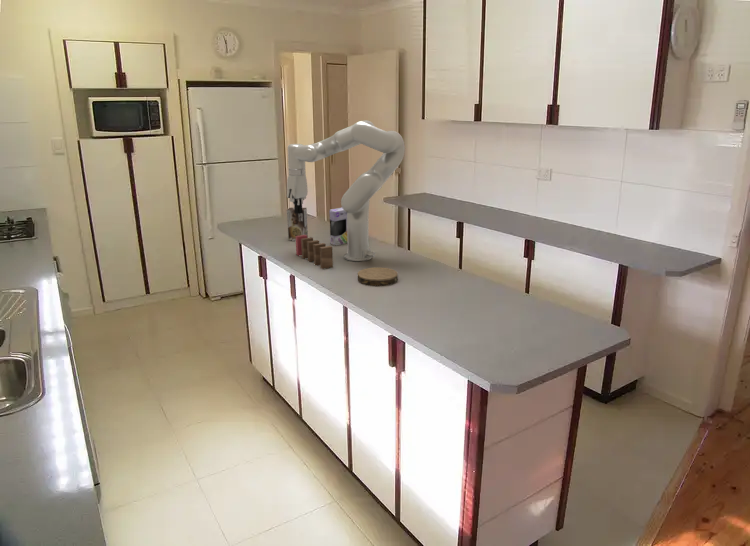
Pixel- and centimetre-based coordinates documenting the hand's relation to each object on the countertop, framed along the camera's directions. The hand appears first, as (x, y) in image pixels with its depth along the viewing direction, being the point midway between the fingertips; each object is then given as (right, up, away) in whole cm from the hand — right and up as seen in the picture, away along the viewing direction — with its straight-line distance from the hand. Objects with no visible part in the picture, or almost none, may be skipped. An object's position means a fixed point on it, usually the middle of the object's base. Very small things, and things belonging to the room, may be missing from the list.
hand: (298, 213), depth 246 cm
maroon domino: (+1, -19, +5) cm, 19 cm away
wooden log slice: (+36, -30, -30) cm, 56 cm away
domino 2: (+8, -22, -5) cm, 24 cm away
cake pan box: (+20, -12, +27) cm, 36 cm away
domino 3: (+11, -23, -9) cm, 27 cm away
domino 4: (+14, -25, -14) cm, 32 cm away
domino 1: (+4, -20, 0) cm, 21 cm away
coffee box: (-5, -10, +32) cm, 34 cm away
